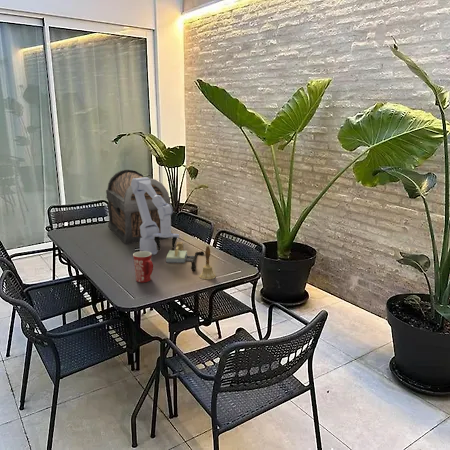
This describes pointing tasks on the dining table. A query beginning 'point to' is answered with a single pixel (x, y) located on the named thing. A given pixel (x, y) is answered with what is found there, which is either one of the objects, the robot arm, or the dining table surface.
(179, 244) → the wooden block
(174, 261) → the shallow grey tray
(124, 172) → the treasure chest
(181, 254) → the lid
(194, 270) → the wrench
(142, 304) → the dining table surface
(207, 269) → the hand bell
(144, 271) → the mug
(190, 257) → the keeper
